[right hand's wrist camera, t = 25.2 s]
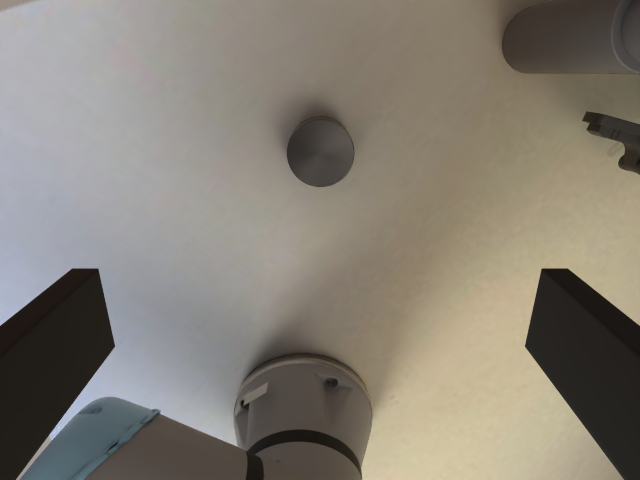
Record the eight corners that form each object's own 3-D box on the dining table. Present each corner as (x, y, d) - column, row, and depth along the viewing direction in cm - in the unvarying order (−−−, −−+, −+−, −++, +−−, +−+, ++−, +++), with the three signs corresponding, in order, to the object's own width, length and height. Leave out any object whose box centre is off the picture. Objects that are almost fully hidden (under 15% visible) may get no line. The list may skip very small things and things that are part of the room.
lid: (364, 157, 38) (366, 163, 35) (312, 191, 39) (311, 199, 37) (329, 103, 36) (330, 105, 34) (276, 140, 37) (273, 144, 35)
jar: (510, 2, 33) (664, -53, 18) (572, 8, 33) (774, -42, 18) (495, 70, 35) (625, 69, 20) (554, 75, 35) (725, 78, 20)
